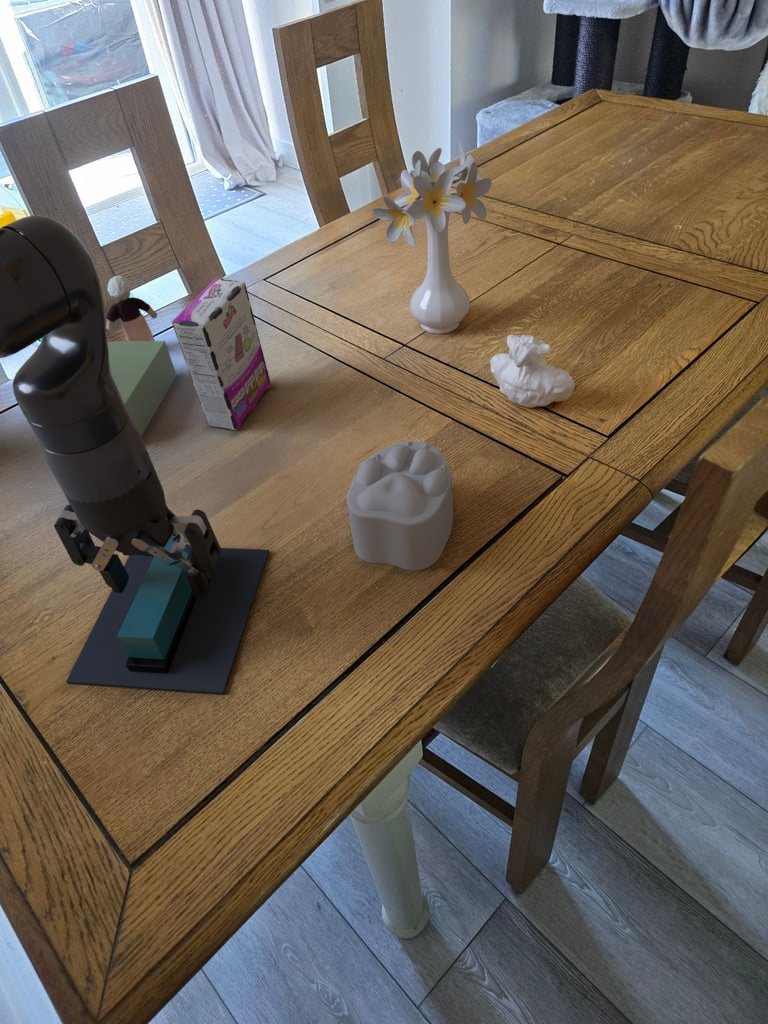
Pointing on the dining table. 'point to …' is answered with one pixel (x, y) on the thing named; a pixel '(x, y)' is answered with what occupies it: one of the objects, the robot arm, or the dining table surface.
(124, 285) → the grandmother figurine
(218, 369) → the candy bar box
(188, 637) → the mat
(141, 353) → the stand
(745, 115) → the dining table surface
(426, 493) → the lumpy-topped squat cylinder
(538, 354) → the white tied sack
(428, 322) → the flower vase
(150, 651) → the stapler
